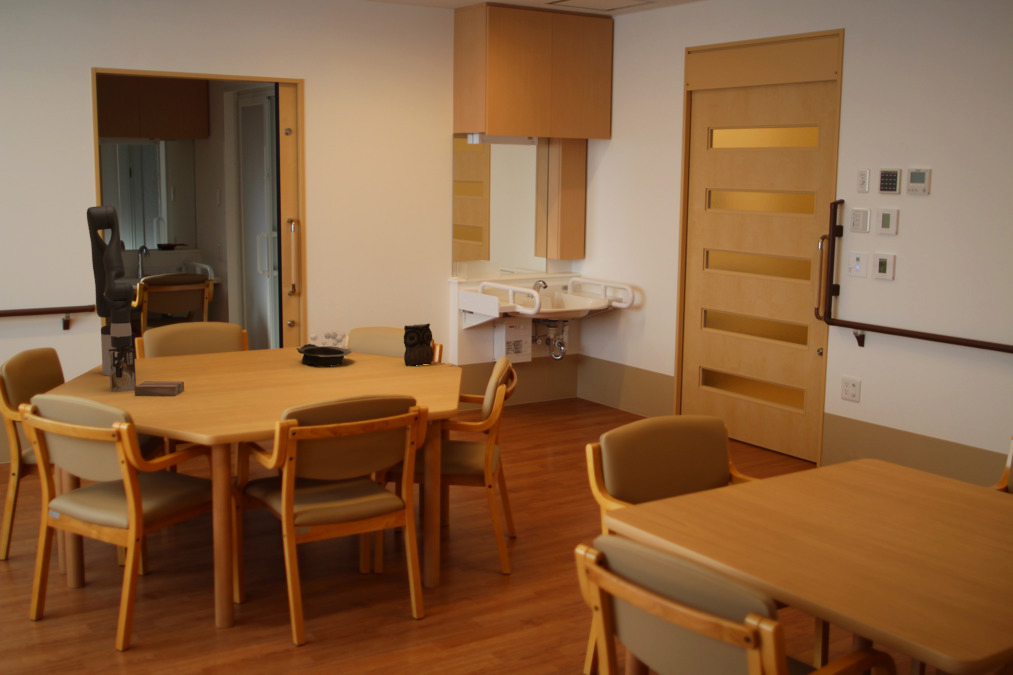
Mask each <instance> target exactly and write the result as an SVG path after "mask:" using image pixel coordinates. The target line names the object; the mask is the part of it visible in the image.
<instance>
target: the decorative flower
mask: <svg viewBox="0 0 1013 675" xmlns="http://www.w3.org/2000/svg"><path fill="white" fill-rule="evenodd" d="M323 333H324V331H323ZM321 338H322V341H320V342H321V344H322V346H326V345H328V342H327V340H328V341H330V340H333V341H332V346H333V347H339V348H343V349H348V348H347V345H346V346H345V344H346V343H345V344H344V343H343V342H345V340H346V333H345V332H344V331H340V332H338V333H337V330H336V332H335V331H332V332H328V331H327V332H325V333H324V338H325V339H326V340H323V337H321ZM318 339H320V338H319V336H318V334H317V333H311V335H310V340H311V341H313V342H316V341H318ZM329 339H330V340H329ZM344 339H345V340H344ZM341 343H342V344H341ZM309 344H312V343H310V342H309ZM343 344H344V345H343ZM317 346H318V345H317ZM329 346H331V344H329ZM318 347H320V346H318ZM345 357H346V355H345V356H344V358H343V359H346V358H345Z"/></svg>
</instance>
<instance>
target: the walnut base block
mask: <svg viewBox="0 0 1013 675" xmlns="http://www.w3.org/2000/svg"><path fill="white" fill-rule="evenodd" d="M184 384H185V382H184V381H166V380H165V381H161V380H160V381H159V380H158V381H154V380H153V381H152V380H151V381H144V382H141V383H139V384H136V386H135V390H134V397H175V396H178V395H179V394H181V393H183V392H184V391H185V385H184Z"/></svg>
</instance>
